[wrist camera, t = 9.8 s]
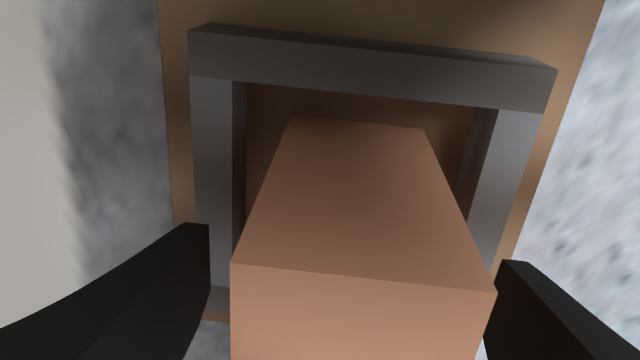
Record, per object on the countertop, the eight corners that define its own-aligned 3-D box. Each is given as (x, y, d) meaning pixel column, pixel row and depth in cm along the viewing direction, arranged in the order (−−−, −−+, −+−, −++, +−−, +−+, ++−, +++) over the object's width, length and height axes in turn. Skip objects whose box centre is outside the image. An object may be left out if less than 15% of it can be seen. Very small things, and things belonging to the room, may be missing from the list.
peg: (400, 238, 16) (439, 455, 9) (284, 225, 16) (231, 429, 9) (423, 128, 14) (498, 293, 7) (291, 114, 14) (229, 262, 7)
